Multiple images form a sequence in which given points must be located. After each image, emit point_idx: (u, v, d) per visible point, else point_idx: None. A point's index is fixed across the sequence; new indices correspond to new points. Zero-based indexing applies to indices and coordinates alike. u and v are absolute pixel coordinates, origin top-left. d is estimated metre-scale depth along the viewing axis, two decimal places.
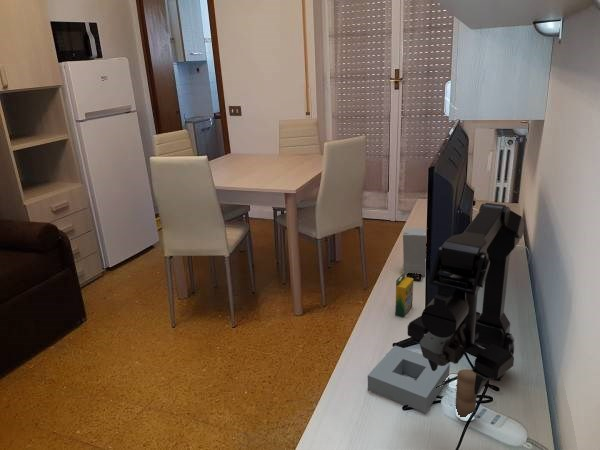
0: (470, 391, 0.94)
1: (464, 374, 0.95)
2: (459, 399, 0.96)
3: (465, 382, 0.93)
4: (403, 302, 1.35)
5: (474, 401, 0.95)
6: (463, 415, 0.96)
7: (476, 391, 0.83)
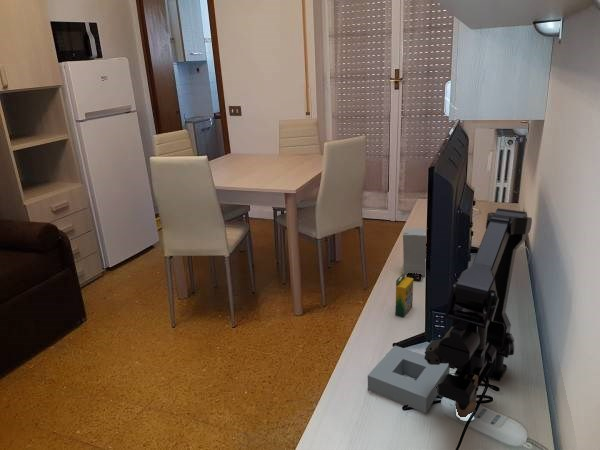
0: None
1: None
2: None
3: None
4: (403, 302, 1.35)
5: (474, 401, 0.95)
6: (463, 415, 0.96)
7: None
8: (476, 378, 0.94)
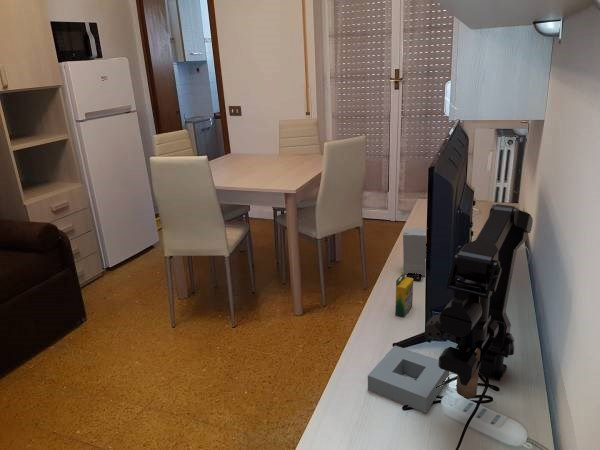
0: None
1: None
2: None
3: None
4: (403, 302, 1.35)
5: (476, 376, 0.93)
6: (465, 391, 0.94)
7: (460, 379, 0.93)
8: (478, 352, 0.92)
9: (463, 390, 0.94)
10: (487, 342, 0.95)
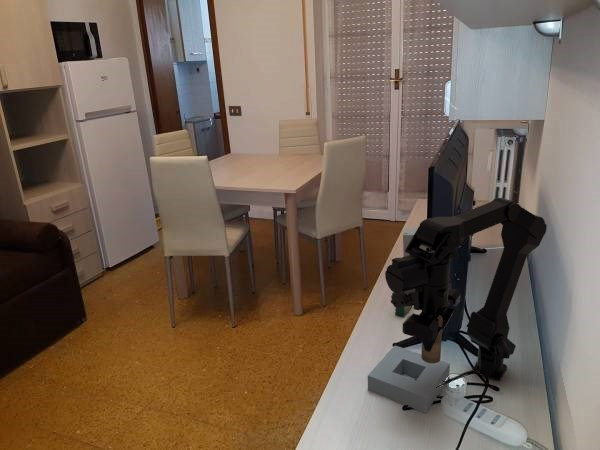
0: None
1: None
2: None
3: None
4: None
5: (439, 342, 0.98)
6: (429, 357, 0.99)
7: (424, 346, 0.98)
8: (440, 319, 0.97)
9: (427, 356, 0.99)
10: (449, 310, 1.00)
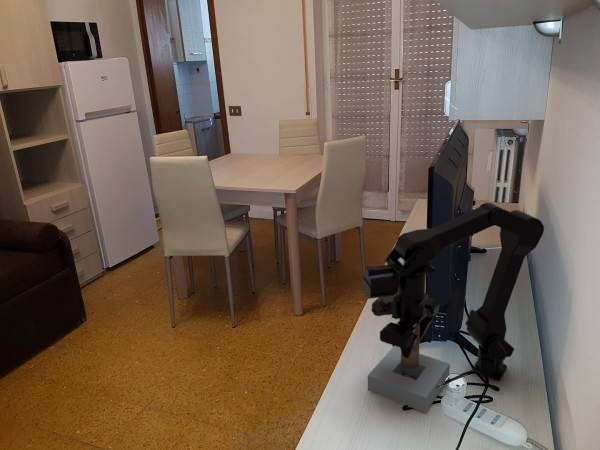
0: None
1: None
2: None
3: None
4: None
5: (416, 349, 1.04)
6: (407, 363, 1.05)
7: None
8: (417, 328, 1.02)
9: (405, 362, 1.05)
10: (427, 319, 1.05)
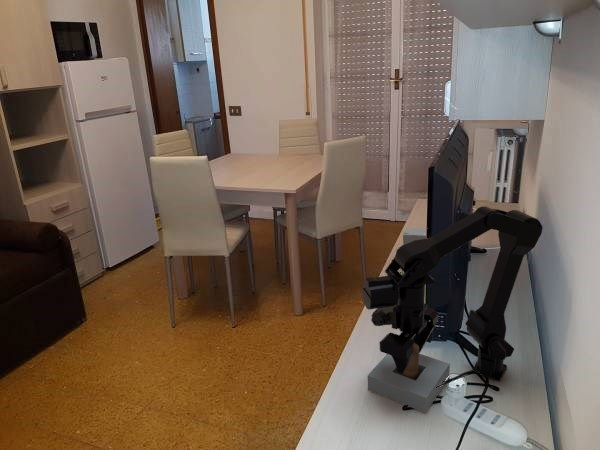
0: (411, 361, 1.04)
1: None
2: None
3: None
4: None
5: (416, 370, 1.05)
6: None
7: (397, 368, 1.03)
8: (417, 349, 1.04)
9: None
10: None
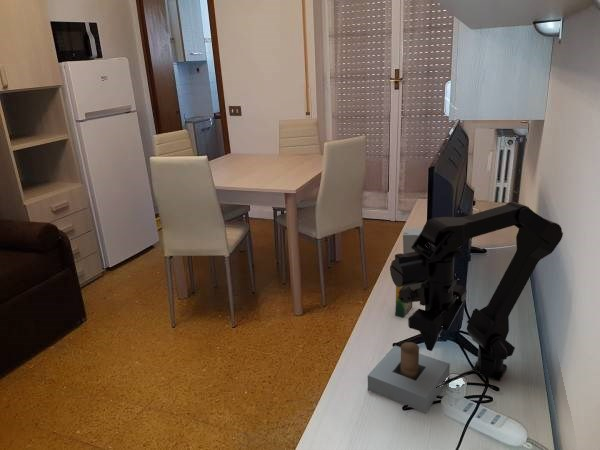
0: (411, 361, 1.04)
1: (407, 346, 1.06)
2: (403, 368, 1.06)
3: (406, 353, 1.04)
4: None
5: (416, 370, 1.05)
6: None
7: (426, 345, 1.01)
8: (417, 349, 1.04)
9: None
10: (459, 301, 1.06)
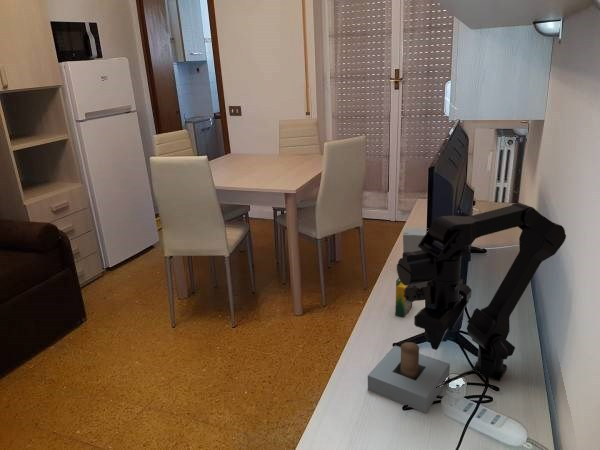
0: (411, 361, 1.04)
1: (407, 346, 1.06)
2: (403, 368, 1.06)
3: (406, 353, 1.04)
4: (403, 302, 1.35)
5: (416, 370, 1.05)
6: None
7: (431, 344, 1.00)
8: (417, 349, 1.04)
9: None
10: (464, 301, 1.06)
